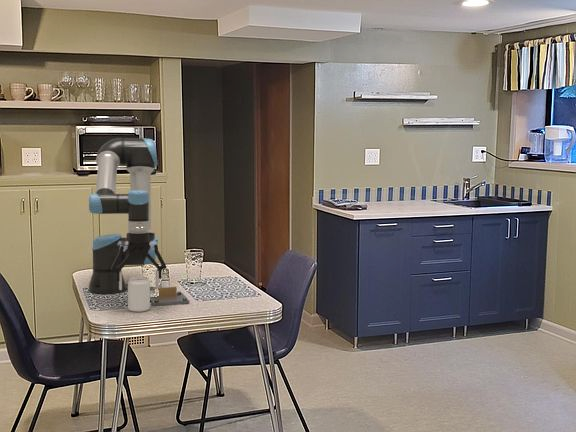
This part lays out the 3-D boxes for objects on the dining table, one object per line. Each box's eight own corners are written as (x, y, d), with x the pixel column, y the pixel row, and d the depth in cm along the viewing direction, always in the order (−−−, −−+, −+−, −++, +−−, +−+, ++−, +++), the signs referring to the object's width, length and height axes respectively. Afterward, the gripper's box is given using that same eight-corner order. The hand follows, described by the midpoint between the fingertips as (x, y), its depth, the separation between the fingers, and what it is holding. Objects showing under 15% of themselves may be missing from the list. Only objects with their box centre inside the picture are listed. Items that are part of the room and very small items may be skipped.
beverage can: (140, 306, 270) (140, 275, 268) (154, 309, 265) (154, 278, 263) (123, 309, 264) (123, 278, 262) (137, 313, 259) (137, 281, 257)
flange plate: (153, 306, 270) (153, 295, 270) (147, 297, 283) (147, 288, 283) (189, 303, 275) (189, 293, 274) (182, 295, 288) (182, 286, 287)
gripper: (105, 234, 253) (105, 292, 255) (173, 232, 261) (174, 288, 264) (103, 231, 260) (103, 288, 262) (170, 229, 268) (170, 284, 271)
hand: (138, 288), depth 263 cm, fingers open, 13 cm apart
